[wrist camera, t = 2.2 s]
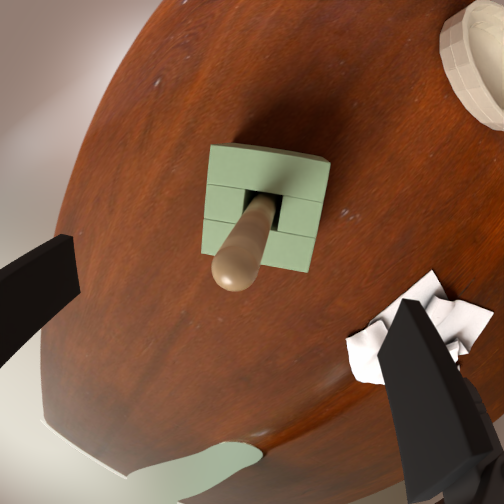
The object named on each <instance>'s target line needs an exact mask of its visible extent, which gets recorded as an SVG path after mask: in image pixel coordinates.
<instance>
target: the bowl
mask: <svg viewBox="0 0 504 504" xmlns="http://www.w3.org/2000/svg"><path fill="white" fill-rule="evenodd" d="M440 55H441V59H442V62H443V67H444V71H445V73H446V75H447V77H448V79H449V81H450V84H451V86H452V88H453V90H454V92H455V94H456V95H457V96H458V98H459V99H460V101H461V102H462V103H463V105H464V106H465V108H466V109H467V110H468V111H469V112H470V113H471V114H472V115H473V116H474V117H475V118H476V119H477V120H478V121H479V122H481V123H482V124H484V125H486V126H488V127H490V128H492V129H494V130H500V131H504V6H503V5H501V4H498V3H496V2H493V1H490V0H476V1H474V2H472V3H471V4H469V5H468V6H466V7H465V8H463V9H462V10H460V11H459V12H457V13H455V14H454V15H453V16H451V17H450V18H449V19H448V20H446V21H445V23H444V25H443V28H442V30H441V33H440Z"/></svg>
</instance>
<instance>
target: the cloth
mask: <svg viewBox="0 0 504 504" xmlns="http://www.w3.org/2000/svg"><path fill="white" fill-rule="evenodd" d="M402 298H405V299H412V300H419V301H420V303H421V304H422V306H423V307H424V309H425V311H426V312H427V314H428V316H429V317H430V319H431V321H432V322H433V324H434V326H435V327H436V329H437V331H438V333H439V334H440V336H441V338H442V340H443V341H444V343H445V345H446V347H447V348H448V350H449V352H450V354H451V356H452V358H453V360H454V361H455V363H456V361H457V360H458V355H462V354H468V353H469V352H470V349H471V346H472V345H473V343H474V342H475V340H476V339H477V337H478V336H479V335H480V333H481V332H482V330H483V329H484V327H485V326H486V324H487V323H488V321H489V320H490V318H491V316H492V315H493V312H491V311H489V310H486V309H484V308H481V307H479V306H476V305H473V304H470V303H468V302H465V301H462V300H458V299H457V300H455V301H453V302H452V301H449V300H448V298H447V296H446V294H445V292H444V290H443V288H442V286H441V284H440V282H439V281H438V279H437V277H436V276H435V274H434V273H433V271H432V270H431V271H430V272H428V273H427V274H426V275H425V276H424V277H423V278H421V279H420V280H419V281H418V282H417V283H415V284H414V285H413V286H412V287H411V288H410V289H408V290H407V291H406V292H405V293H404V294H402V295H401V296H400V297H399V298H397V299H396V300H395V301H394V302H393V303H392V304H391V305H389V306H388V307H387V308H386V309H385V310H384V311H382V312H381V313H380V314H379V315H377V316H376V317H375V318H374V319H372V320H371V321H370V323H369V325H368V328H366V329H365V330H363V331H361V332H359V333H357V334H355V335H354V336H352V337H348V338H346V341H347V349H348V354H349V361H350V365H351V370H352V373H353V374H354V376H355V377H356V380H357V381H360V382H362V383H364V382H370V383H374V384H384V385H385V383H384V379H383V376H382V372H381V368H380V365H379V361H378V357H377V354H378V351H379V349H380V347H381V345H382V343H383V341H384V339H385V337H386V335H387V333H388V330H389V328H390V326H391V324H392V321H393V319H394V317H395V314H396V312H397V310H398V307H399V305H400V302H401V300H402ZM458 369H459V370H460V366H459V365H458Z"/></svg>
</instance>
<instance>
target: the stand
mask: <svg viewBox="0 0 504 504" xmlns="http://www.w3.org/2000/svg"><path fill="white" fill-rule="evenodd" d="M330 165H331V163H330V162H328V161H327V160H326V159H324V158H323V157H321V156H315V155H310V154H305V153H299V152H294V151H288V150H282V149H275V148H269V147H262V146H255V145H247V144H239V143H222V144H212V145H211V148H210V157H209V167H208V176H207V188H206V199H205V210H204V222H203V236H202V250H201V253H203V254H209V255H214V256H215V255H216V253H217V252H218V250H219V249H220V247H221V246H222V244H223V243H224V241H225V240H226V238H227V237H228V235H229V234H230V232H231V231H232V229H233V228H234V226H235V225H236V223H237V222H238V220H239V219H240V217H241V216H242V214H243V213H244V212H245V210H246V209H247V207H248V206H249V204H250V203H251V201H252V200H253V198H254V197H255V191H262V192H268V193H274V194H280V195H283V200H282V206H281V209H278V208H276V211H275V214H274V218H273V221H272V225H271V229H270V232H269V236H268V239H267V243H266V246H265V250H264V253H263V257H262V260H261V264H263V265H268V266H274V267H279V268H285V269H291V270H296V271H302V272H308V270H309V266H310V262H311V257H312V253H313V249H314V244H315V240H316V235H317V231H318V226H319V221H320V217H321V212H322V207H323V202H324V197H325V192H326V187H327V181H328V176H329V171H330Z"/></svg>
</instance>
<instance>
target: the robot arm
mask: <svg viewBox="0 0 504 504" xmlns="http://www.w3.org/2000/svg"><path fill="white" fill-rule="evenodd" d="M80 293H81V292H80V286H79V280H78V274H77V267H76V260H75V252H74V243H73V236H68V235H64V234H60V235H58V236H56V237H54V238H52V239H51V240H49V241H47V242H45V243H43V244H42V245H40V246H38V247H36V248H35V249H33V250H31V251H29V252H28V253H26V254H24V255H23V256H21V257H19V258H18V259H16V260H14V261H13V262H11V263H10V264H8V265H6V266H5V267H3V268H2V269H0V368H1V367H2V366H3V365H4V364H5V363H6V362H7V361H8V360H9V359H10V358H11V357H12V356H13V355H14V354H15V353H16V352H17V351H18V350H19V349H20V348H21V347H22V346H23V345H24V344H25V343H26V342H27V341H28V340H29V339H30V338H31V337H32V336H33V335H34V334H35V333H36V332H37V331H39V330H40V329H41V328H42V327H43V326H44V325H45V324H46V323H47V322H48V321H49V320H50V319H52V318H53V317H54V316H55V315H56V314H57V313H58V312H59V311H60V310H62V309H63V308H64V307H65V306H66V305H67V304H68V303H69V302H71V301H72V300H73V299H74V298H75V297H76V296H78V295H79V294H80ZM377 357H378V361H379V365H380V368H381V372H382V376H383V379H384V383H385V387H386V391H387V395H388V399H389V403H390V408H391V412H392V416H393V421H394V425H395V430H396V435H397V440H398V445H399V450H400V455H401V461H402V467H403V473H404V479H405V485H406V493H407V500H408V504H412V503H416V502H422V501H426V500H430V499H431V498H433V497H434V496H436V495H437V494H439V493H440V492H442V491H443V496H444V498H443V499H441V500H440V501H438V502H437V503H435V504H504V451H503V449H502V446H501V444H500V441H499V439H498V436H497V433H496V431H495V429H494V426H493V424H492V421H491V419H490V417H489V415H488V413H486V411H487V410H486V408H485V406H484V404H483V403H482V399H481V397H480V395H479V393H478V391H477V389H476V388H475V387H474V385H473V384H472V383H471V382H470V381H469V380H468V379H467V378H463V377H462V375H461V373H460V371H459V369H458V367H457V365H456V363H455V361H454V360H453V358H452V356H451V354H450V352H449V350H448V348H447V347H446V345H445V343H444V341H443V340H442V338H441V336H440V334H439V333H438V331H437V329H436V327H435V326H434V324H433V322H432V321H431V319H430V317H429V316H428V314H427V312H426V311H425V309H424V307H423V306H422V304H421V303H420V301H419V300H412V299H405V298H402V300H401V302H400V305H399V307H398V310H397V312H396V314H395V317H394V319H393V321H392V324H391V326H390V328H389V330H388V333H387V335H386V337H385V339H384V341H383V343H382V345H381V347H380V349H379V351H378V354H377Z"/></svg>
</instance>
